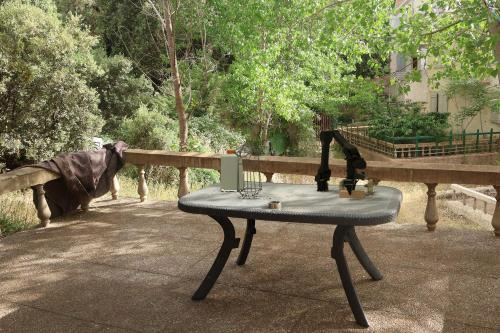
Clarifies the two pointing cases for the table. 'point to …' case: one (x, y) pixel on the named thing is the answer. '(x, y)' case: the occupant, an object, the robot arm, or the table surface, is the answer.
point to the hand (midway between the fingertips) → (351, 193)
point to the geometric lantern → (250, 168)
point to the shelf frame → (367, 192)
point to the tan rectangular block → (352, 194)
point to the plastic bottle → (231, 171)
